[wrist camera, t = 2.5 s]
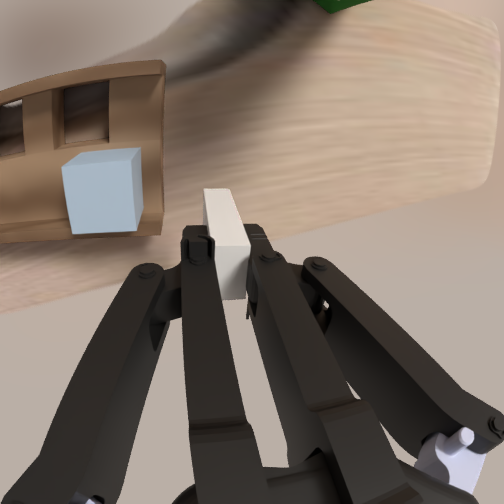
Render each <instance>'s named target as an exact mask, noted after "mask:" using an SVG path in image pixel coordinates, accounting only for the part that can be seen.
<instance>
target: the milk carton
mask: <svg viewBox="0 0 504 504" xmlns="http://www.w3.org/2000/svg"><path fill="white" fill-rule="evenodd" d="M313 1H315V2H316V3H317V4H318V5H320V6H321V7H322V8H323V9H325V10H326V11H327V12H328V13H330V14H332V13H335V12H337V11H340V10H343V9H346V8H349V7H352V6H355V5H358V4H361V3H365V2H368V1H372V0H313Z"/></svg>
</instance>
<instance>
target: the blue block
mask: <svg viewBox="0 0 504 504" xmlns="http://www.w3.org/2000/svg"><path fill="white" fill-rule="evenodd" d="M61 168H62V176H63V184H64V191H65V197H66V203H67V209H68V214H69V220H70V225H71V229H72V234H84V233H104V232H125V231H137V228H138V224H139V221H140V218H141V214H142V211H143V208H144V206H143V191H142V170H141V147H137V148H123V149H111V150H100V151H91V152H82V153H80V154H78V155H77V156H76V157H74V158H73V159H71V160H70V161H69V162H67V163H66V164H65V165H63V166H62V167H61Z"/></svg>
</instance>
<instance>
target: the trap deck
mask: <svg viewBox="0 0 504 504" xmlns="http://www.w3.org/2000/svg"><path fill="white" fill-rule="evenodd" d="M165 76H166V64H165V63H164V62H163V61H162V60H148V61H135V62H125V63H116V64H109V65H102V66H95V67H89V68H84V69H78V70H73V71H68V72H64V73H60V74H55V75H52V76H47V77H44V78H40V79H36V80H33V81H29V82H26V83H23V84H20V85H17V86H14V87H11V88H8V89H5V90H2V91H0V106H2V105H5V104H8V103H11V102H15V101H18V100H21V99H22V113H23V133H24V145H25V151H23V152H18V153H14V154H10V155H5V156H1V157H0V244H1V243H16V242H31V241H47V240H65V239H84V238H104V237H127V236H152V235H161V230H162V223H163V216H164V190H163V117H164V93H165ZM107 81H110V82H109V138H108V139H98V140H90V141H82V142H74V143H67V144H65V131H64V89H65V88H70V87H76V86H81V85H87V84H93V83H100V82H107ZM137 147H141V170H142V191H143V206H144V208H143V211H142V214H141V218H140V221H139V224H138V228H137V231H125V232H104V233H84V234H72V229H71V225H70V220H69V214H68V209H67V203H66V197H65V191H64V184H63V176H62V168H61V167H62V166H63V165H65V164H66V163H67V162H69V161H70V160H71V159H73V158H74V157H76V156H77V155H78V154H80V153H82V152H91V151H100V150H111V149H123V148H137Z"/></svg>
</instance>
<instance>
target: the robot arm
mask: <svg viewBox="0 0 504 504" xmlns="http://www.w3.org/2000/svg"><path fill="white" fill-rule="evenodd" d="M180 243H181V262H180V263H179V264H178V265H177V266H175V267H173V268H171V269H167V270H163V268H162V267H161V266H160V265H158V264H154V263H144V264H140V265H138V266H136V267H134V268H133V269H132V270H131V272H130V273H129V275H128V276H127V278H126V280H125V281H124V283H123V285H122V286H121V288H120V290H119V291H118V293H117V295H116V296H115V298H114V300H113V301H112V303H111V305H110V307H109V308H108V310H107V312H106V313H105V315H104V317H103V319H102V321H101V322H100V324H99V326H98V328H97V330H96V331H95V333H94V335H93V337H92V339H91V341H90V343H89V344H88V346H87V348H86V350H85V352H84V354H83V356H82V358H81V360H80V362H79V364H78V366H77V368H76V370H75V372H74V374H73V376H72V378H71V380H70V382H69V385H68V387H67V389H66V391H65V393H64V396H63V398H62V400H61V402H60V405H59V407H58V409H57V411H56V414H55V416H54V418H53V421H52V423H51V426H50V428H49V431H48V433H47V436H46V438H45V441H44V444H43V446H42V449H41V452H40V455H39V456H38V457H37V458H36V460H35V461H34V462H33V463H32V464H31V465H30V467H28V469H27V470H26V471H25V472H24V473H23V474H22V476H21V477H20V478H19V479H18V480H17V482H16V483H15V484H14V485H13V486H12V487H11V489H10V490H9V491H8V492H7V493H6V495H5V496H4V498H3V500H2V502H1V504H116V502H117V500H118V498H119V496H120V493H121V490H122V486H123V483H124V479H125V475H126V471H127V466H128V462H129V458H130V455H131V451H132V447H133V443H134V440H135V435H136V432H137V428H138V425H139V421H140V418H141V414H142V410H143V407H144V404H145V400H146V397H147V394H148V390H149V387H150V384H151V381H152V377H153V374H154V371H155V368H156V364H157V362H158V359H159V355H160V352H161V349H162V346H163V343H164V340H165V337H166V334H167V331H168V328H169V325H170V320H174V319H177V318H181V317H182V332H183V333H182V334H183V355H184V371H185V385H186V397H187V409H188V420H189V441H190V450H191V457H192V465H193V472H194V479H195V484H193V485H192V486H190V487H188V488H187V489H186V490H185V491H183V492H182V493H181V494H180V495H179V496H178V497H177V498H176V499H175V500H174V502H173V503H172V504H479V503H478V502H477V500H476V499H475V498H474V496H473V495H472V493H473V490H474V488H475V485H476V483H477V480H478V477H479V474H480V472H481V468H482V466H483V463H484V460H485V456H486V454H487V453H488V452H489V451H490V450H492V449H493V448H495V447H496V446H497V445H499V444H500V443H502V442H503V440H504V415H503V414H502V413H501V412H500V411H498V410H496V409H495V408H493V407H491V406H490V405H488V404H486V403H485V402H483V401H481V400H480V399H478V398H476V397H475V396H473V395H471V394H469V393H468V392H466V391H465V390H463V389H462V388H461V387H460V386H459V385H458V384H457V383H456V382H455V381H454V380H453V379H452V378H451V377H450V375H448V373H446V372H445V370H444V369H443V368H442V367H441V366H440V365H439V364H438V363H437V362H436V361H435V360H434V359H433V358H432V357H431V356H430V355H429V354H428V353H427V352H426V351H425V350H424V349H423V348H422V347H421V346H420V345H419V344H418V343H417V342H416V341H415V340H414V339H413V338H412V337H411V336H410V335H409V334H408V333H407V332H406V331H405V330H403V329H402V327H400V326H399V325H398V324H397V323H396V322H395V321H394V320H393V319H392V318H391V317H390V316H389V315H388V314H387V313H386V312H385V311H383V309H382V308H380V307H379V306H378V305H377V304H376V303H375V302H374V301H373V300H372V299H371V298H370V297H369V296H368V295H366V293H364V292H363V291H362V290H361V289H360V288H359V287H358V286H357V285H356V284H354V283H353V282H352V281H351V280H350V279H349V278H348V277H347V276H346V275H344V273H342V272H341V271H340V270H339V269H338V268H337V267H336V266H335V265H334V264H332V263H331V262H330V261H328V260H327V259H324V258H322V257H308V258H306V259H305V260H304V262H303V265H297V264H291V263H287V262H286V260H285V258H284V257H283V256H282V254H280V253H279V252H277V251H274V250H273V248H272V246H271V244H270V242H269V240H268V239H267V236H266V235H265V232H264V230H263V228H261V227H260V226H259V225H257V224H242V221H241V218H240V216H239V213H238V211H237V208H236V205H235V203H234V200H233V197H232V195H231V192H230V190H229V189H204V196H203V225H190V226H186V227H185V228H184V229H183V234H182V240H181V242H180ZM246 290H247V294H248V304H247V314H246V319H249V315H250V317H251V321H252V325H253V328H254V332H255V335H256V339H257V342H258V346H259V349H260V353H261V357H262V360H263V364H264V367H265V370H266V374H267V378H268V381H269V384H270V388H271V391H272V395H273V398H274V402H275V405H276V408H277V412H278V415H279V419H280V422H281V425H282V429H283V431H284V435H285V439H286V442H287V457H288V464H289V468H277V467H263V466H262V463H261V459H260V455H259V451H258V447H257V443H256V439H255V436H254V432H253V429H252V427H251V425H250V424H249V423H248V421H247V419H246V415H245V411H244V406H243V402H242V397H241V393H240V389H239V384H238V379H237V375H236V370H235V365H234V361H233V355H232V350H231V345H230V340H229V335H228V330H227V325H226V320H225V314H224V309H223V304H222V300H235V299H245V298H246V297H245V296H246ZM325 301H326V302H327V303H328V304H329V307H328V308H326V307H325V306H324V305H323V304H324V302H325ZM346 381H347V382H348V383H349V385H350V386H351V387H352V388H353V389H354V391H355V392H356V393H357V394H358V396H359V397H360V398H361V399H356V398H355V397H354V396H353V394H352V392H351V390H350V388H349V386H348V384H347V382H346ZM380 423H381V424H382V425H383V426H384V428H385V429H386V430H387V431H388V432H389V434H390V435H391V436H392V437H393V439H395V441H396V442H397V443H398V444H399V445H400V446H401V447H402V448H403V449H404V450H405V451H407V452H408V453H409V454H410V455H412V456H413V457H415V458H416V459H418V460H417V461H416V462H415V465H414V467H412V466H410V465H408V464H406V463H404V462H403V461H401V460H399V459H397V458H396V456H395V454H394V451H393V449H392V447H391V445H390V443H389V441H388V439H387V437H386V435H385V433H384V430H383V428H382V426H381V424H380Z"/></svg>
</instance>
